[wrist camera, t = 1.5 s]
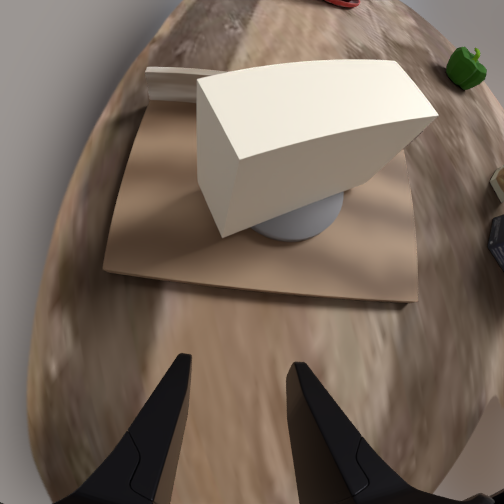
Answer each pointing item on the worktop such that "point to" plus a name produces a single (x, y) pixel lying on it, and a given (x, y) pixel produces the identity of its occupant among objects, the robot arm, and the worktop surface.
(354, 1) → the plant pot
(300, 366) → the robot arm
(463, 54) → the bell pepper
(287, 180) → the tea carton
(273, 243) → the shelf board
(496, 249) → the small box
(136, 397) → the worktop surface
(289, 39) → the worktop surface
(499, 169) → the skincare box
